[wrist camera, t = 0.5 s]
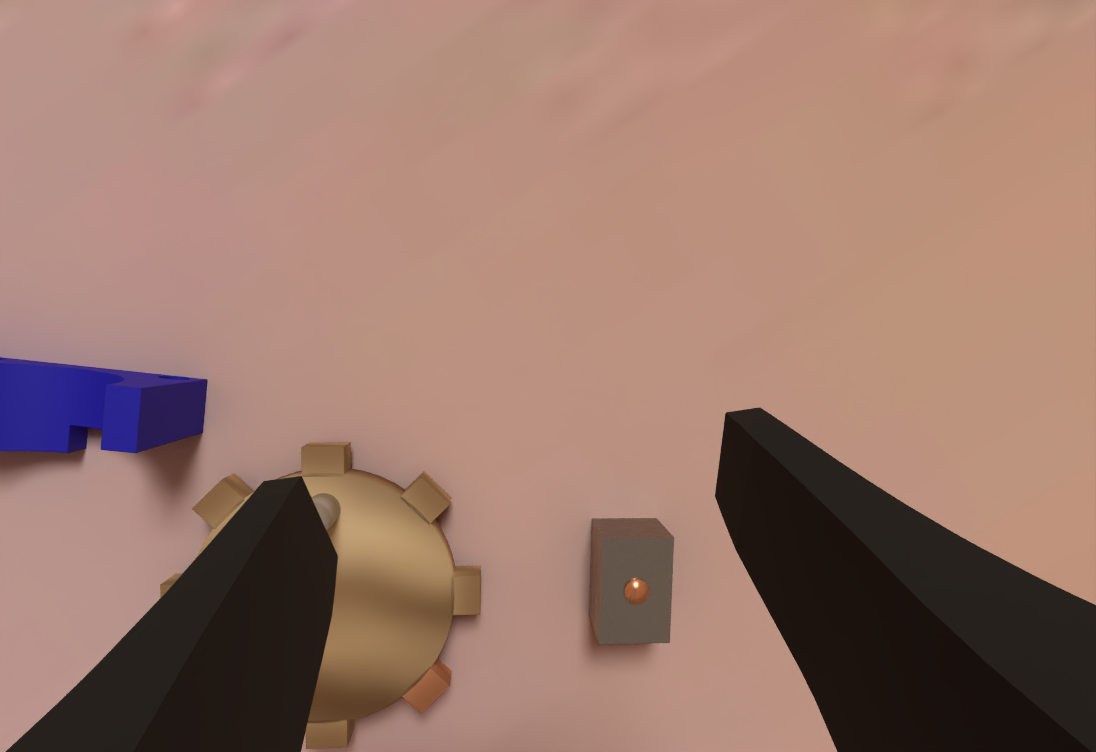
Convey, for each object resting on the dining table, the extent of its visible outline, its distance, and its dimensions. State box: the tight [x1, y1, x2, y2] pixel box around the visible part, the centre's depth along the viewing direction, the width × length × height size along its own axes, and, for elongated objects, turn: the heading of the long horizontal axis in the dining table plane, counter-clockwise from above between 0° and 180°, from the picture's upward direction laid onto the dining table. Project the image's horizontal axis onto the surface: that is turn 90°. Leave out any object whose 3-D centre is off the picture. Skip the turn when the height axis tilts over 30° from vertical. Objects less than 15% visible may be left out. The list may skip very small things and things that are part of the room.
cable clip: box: [0, 357, 207, 453], centre depth 28 cm, size 12×4×6 cm, turn 83°
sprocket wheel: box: [160, 442, 481, 749], centre depth 29 cm, size 17×17×5 cm
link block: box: [589, 518, 674, 645], centre depth 32 cm, size 6×4×4 cm, turn 178°
